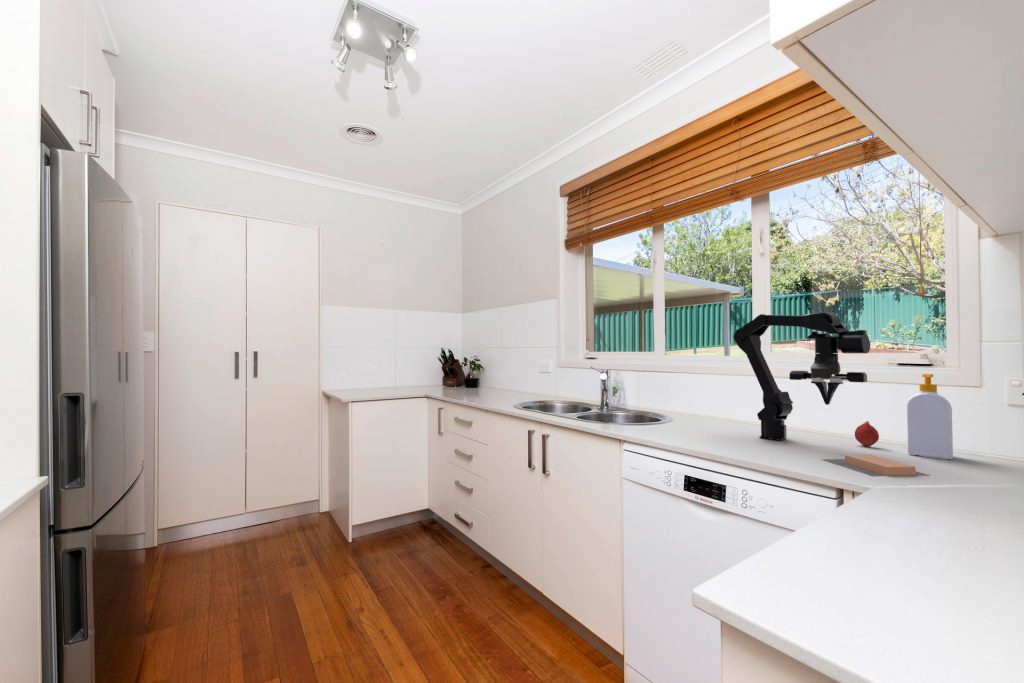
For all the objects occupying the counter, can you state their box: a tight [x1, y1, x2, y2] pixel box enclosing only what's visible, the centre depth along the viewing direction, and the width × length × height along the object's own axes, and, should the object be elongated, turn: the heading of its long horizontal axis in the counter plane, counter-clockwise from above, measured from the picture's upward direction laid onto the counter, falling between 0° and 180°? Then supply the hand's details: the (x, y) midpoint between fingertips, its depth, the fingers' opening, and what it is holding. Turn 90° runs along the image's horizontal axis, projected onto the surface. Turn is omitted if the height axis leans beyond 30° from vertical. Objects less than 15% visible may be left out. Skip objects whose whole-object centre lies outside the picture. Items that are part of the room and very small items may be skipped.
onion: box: [854, 420, 880, 448], centre depth 134 cm, size 6×6×8 cm
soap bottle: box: [906, 373, 954, 460], centre depth 123 cm, size 9×7×23 cm
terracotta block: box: [844, 454, 916, 477], centre depth 107 cm, size 2×7×12 cm
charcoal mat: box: [820, 458, 931, 477], centre depth 109 cm, size 16×14×1 cm
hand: (827, 404), depth 134 cm, fingers closed
